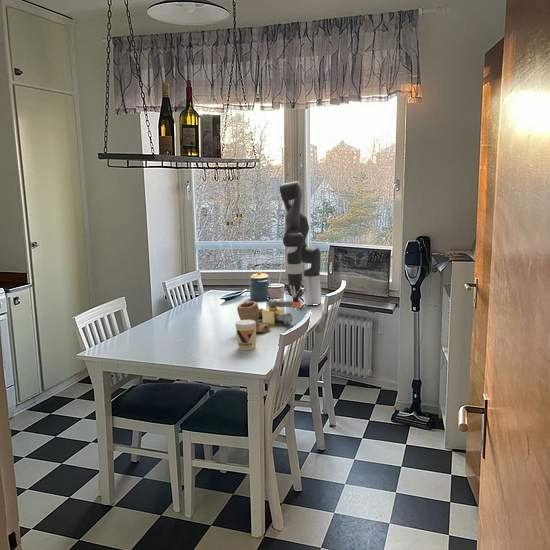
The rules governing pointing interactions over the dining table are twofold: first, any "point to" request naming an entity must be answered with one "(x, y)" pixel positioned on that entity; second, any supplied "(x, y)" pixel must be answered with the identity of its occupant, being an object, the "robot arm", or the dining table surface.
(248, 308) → the stone cup
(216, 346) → the dining table surface
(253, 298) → the canister
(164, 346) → the dining table surface
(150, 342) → the dining table surface
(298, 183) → the robot arm
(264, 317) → the valve pipe
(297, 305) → the lever
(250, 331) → the coffee cup
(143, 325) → the dining table surface
